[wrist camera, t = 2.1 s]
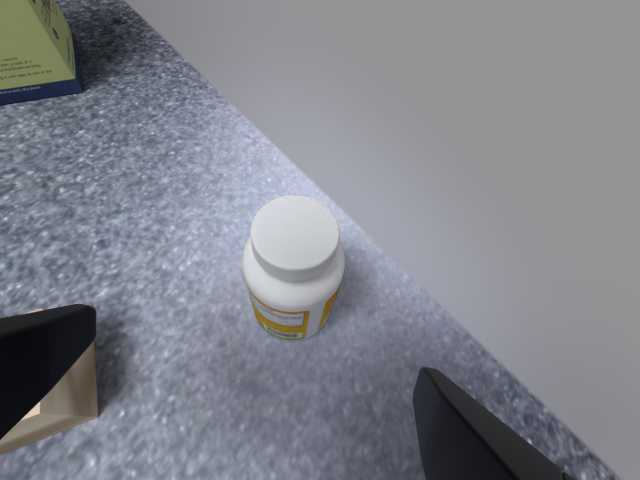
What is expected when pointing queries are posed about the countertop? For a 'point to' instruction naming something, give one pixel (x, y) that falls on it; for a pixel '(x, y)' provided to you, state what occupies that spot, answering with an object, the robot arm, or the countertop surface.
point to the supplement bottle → (293, 266)
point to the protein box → (36, 52)
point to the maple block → (59, 405)
